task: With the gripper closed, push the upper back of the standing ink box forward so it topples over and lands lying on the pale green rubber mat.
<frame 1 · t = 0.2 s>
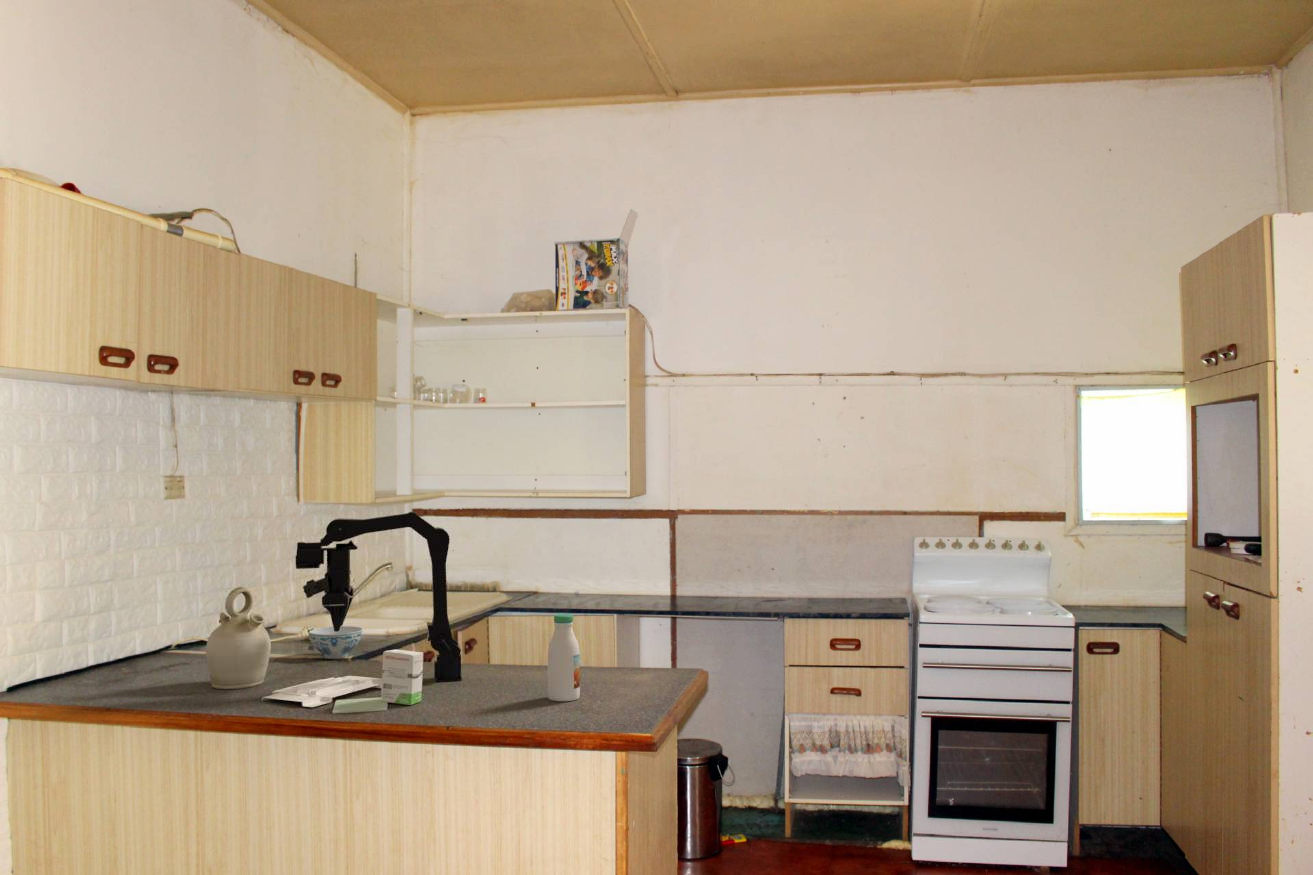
hand: (338, 628, 253), 14 cm above the countertop, tool pointing down, fingers open, 9 cm apart
tray: (326, 692, 245), on the countertop, touching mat
ink box: (400, 702, 234), on the countertop, touching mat
jug: (238, 685, 255), on the countertop
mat: (361, 705, 231), on the countertop
chinaware: (335, 656, 293), on the countertop
milk bottle: (563, 699, 237), on the countertop
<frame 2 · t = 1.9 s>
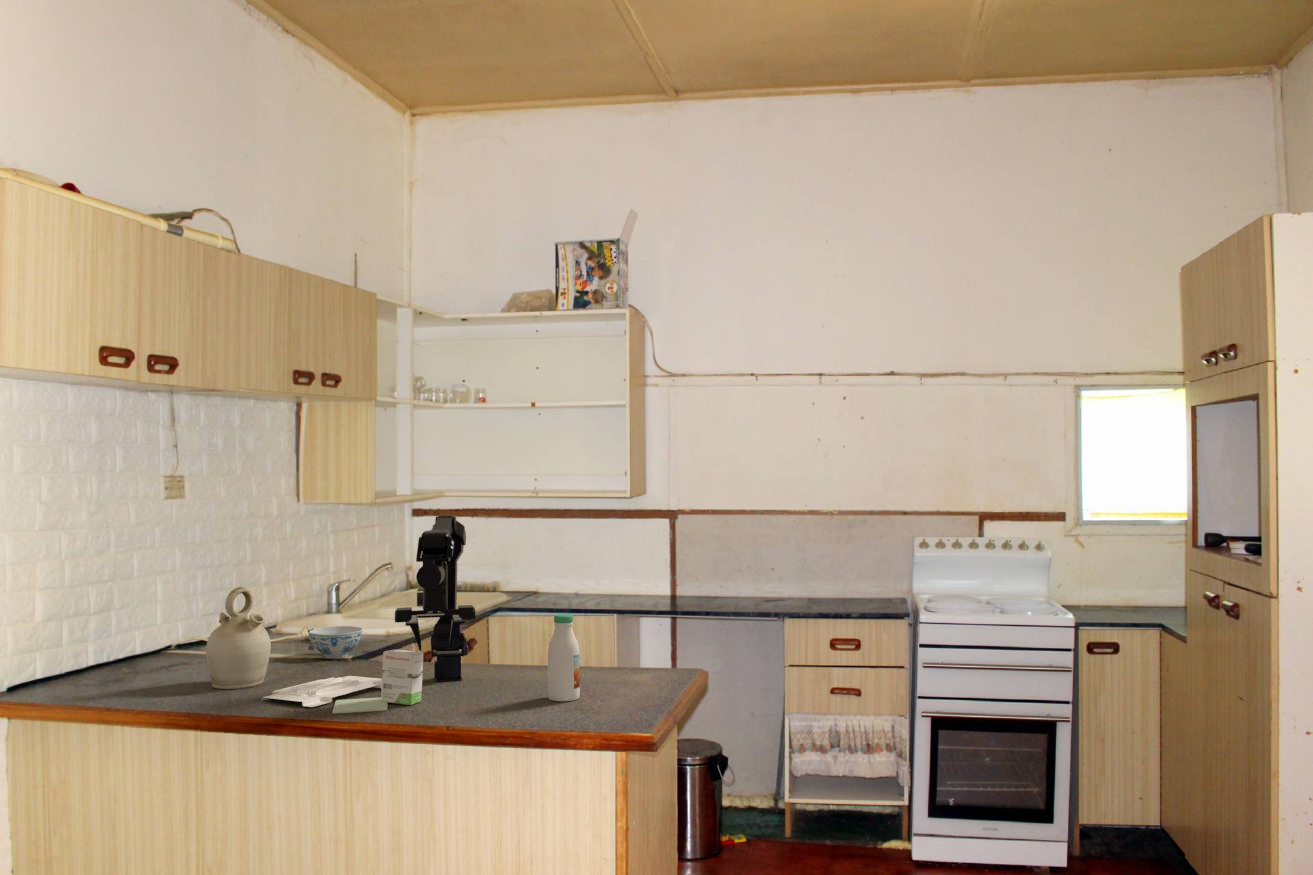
hand: (435, 649, 236), 12 cm above the countertop, tool pointing down, fingers open, 7 cm apart
nothing on the countertop moved.
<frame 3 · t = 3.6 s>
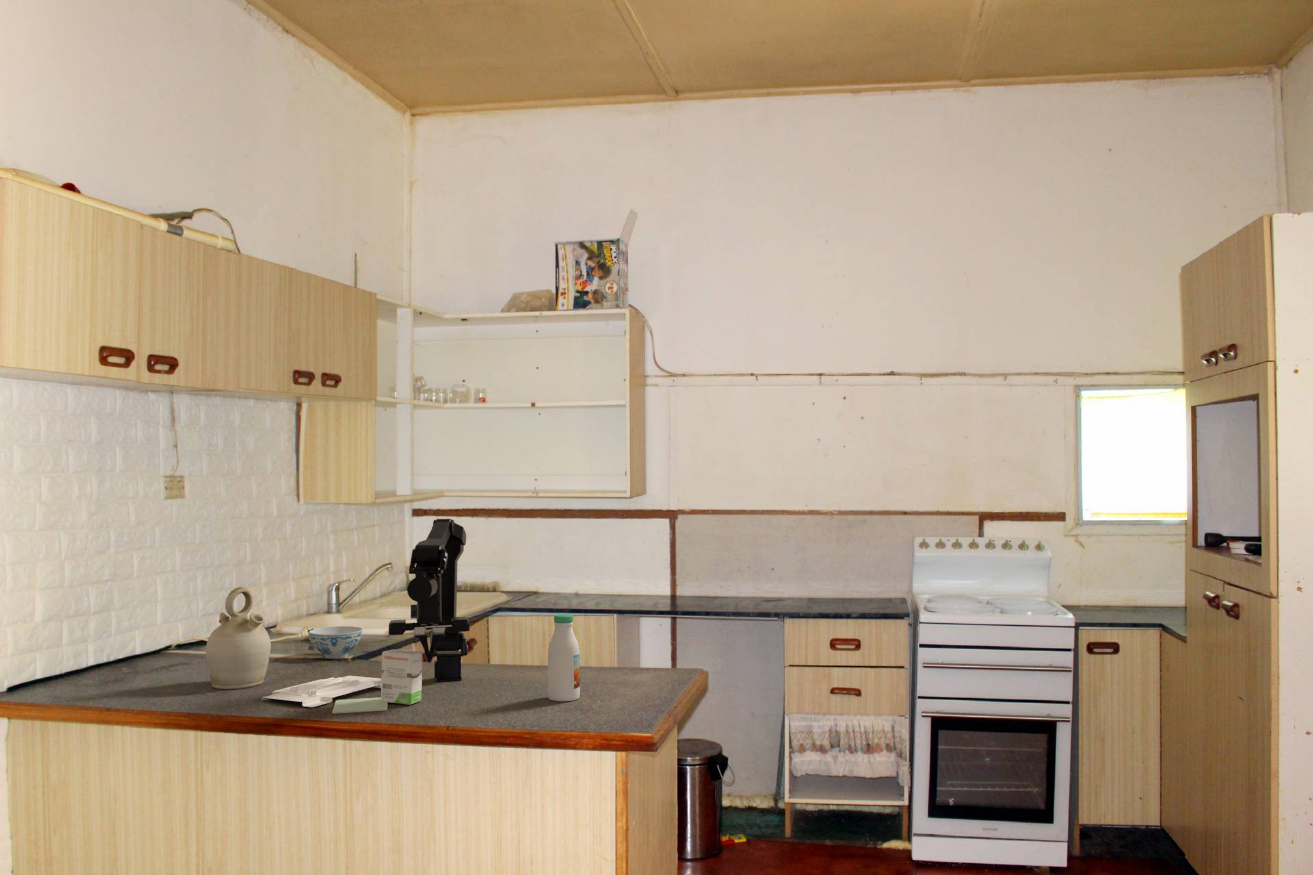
hand: (429, 662, 236), 9 cm above the countertop, tool pointing down, fingers closed
ink box: (400, 702, 234), on the countertop, touching gripper, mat
everything else where it was.
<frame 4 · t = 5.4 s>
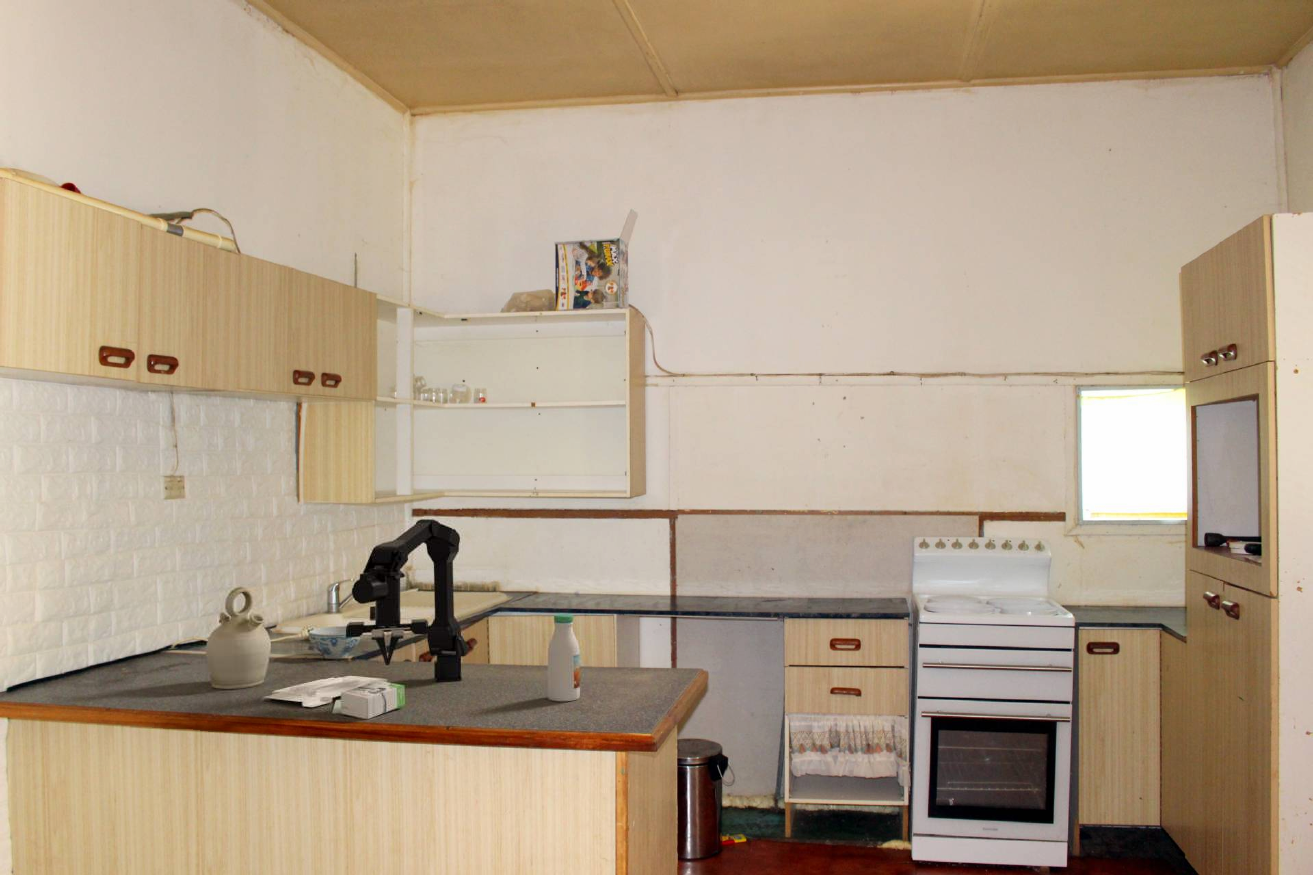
hand: (387, 664, 233), 9 cm above the countertop, tool pointing down, fingers closed
ink box: (392, 692, 231), point 3 cm above the countertop, touching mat
everything else where it was.
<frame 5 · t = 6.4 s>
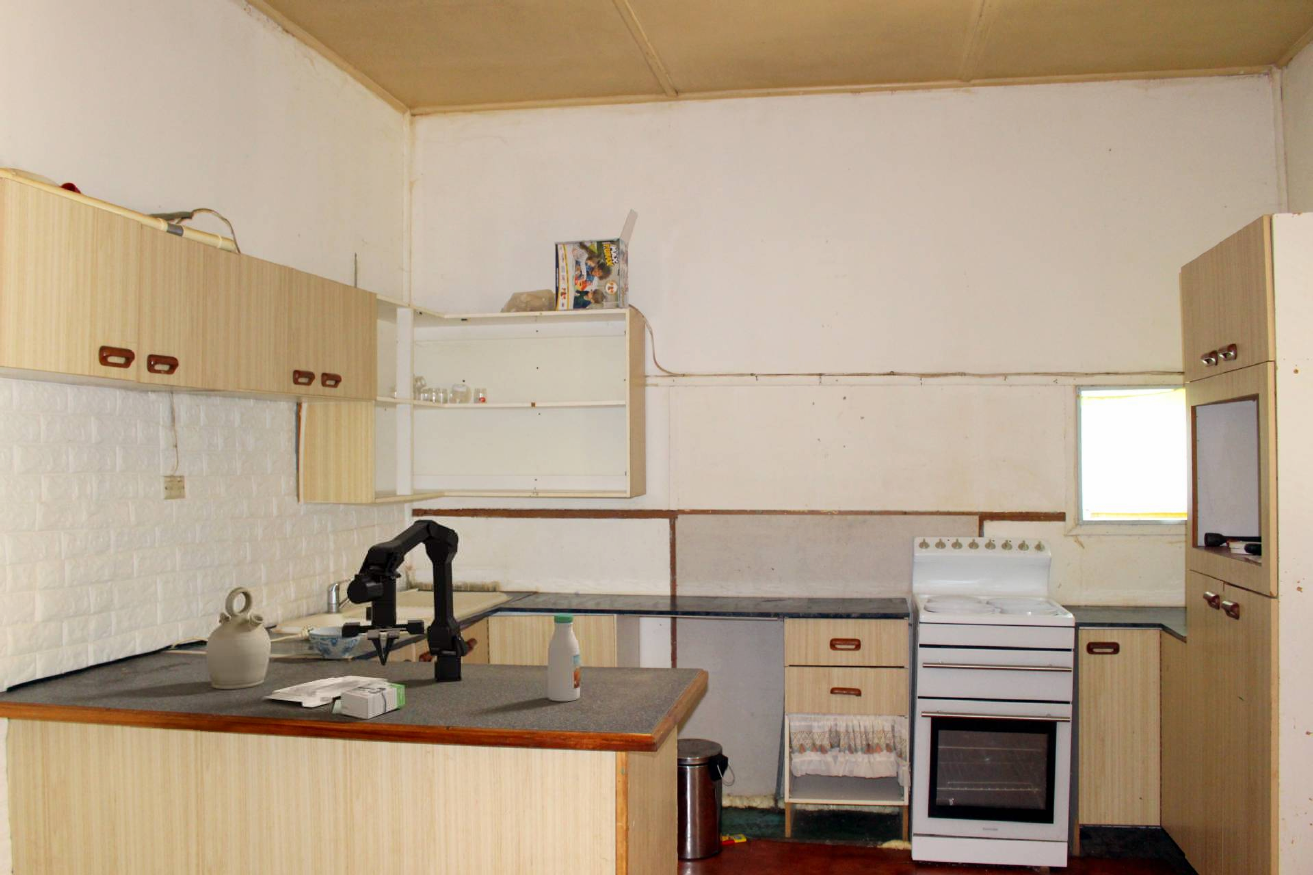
hand: (383, 665, 233), 9 cm above the countertop, tool pointing down, fingers closed
nothing on the countertop moved.
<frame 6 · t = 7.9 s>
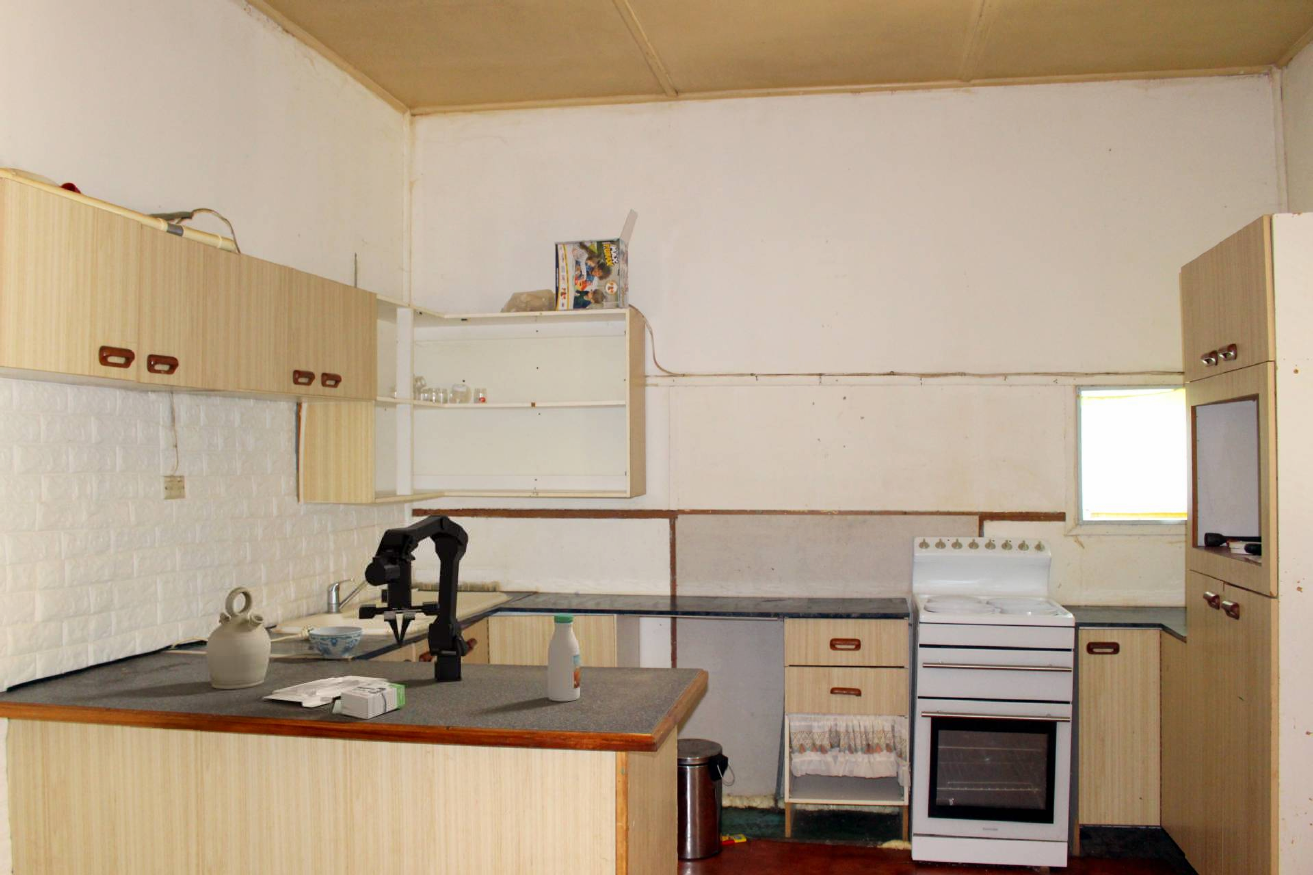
hand: (399, 645, 238), 13 cm above the countertop, tool pointing down, fingers closed
nothing on the countertop moved.
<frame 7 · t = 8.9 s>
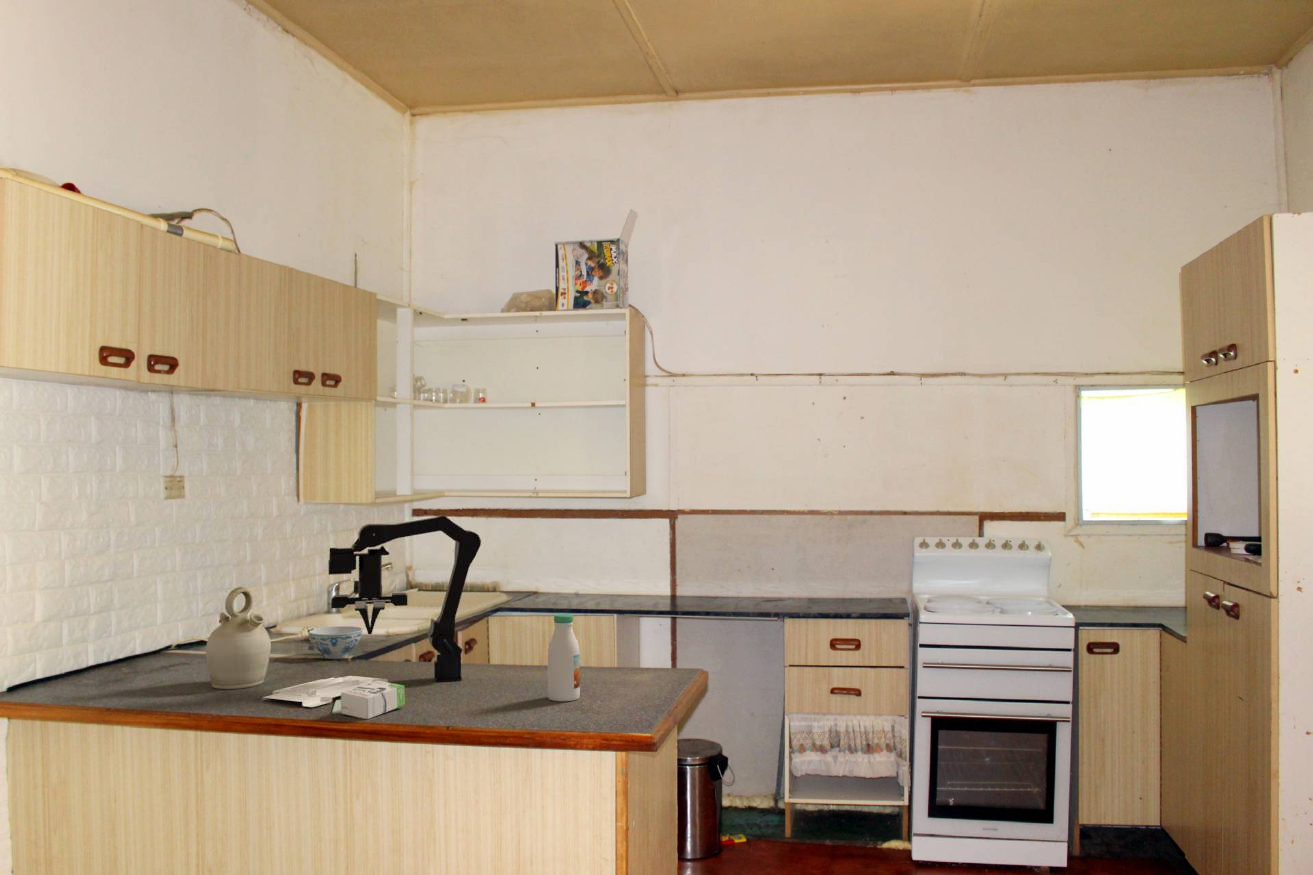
hand: (369, 633, 254), 13 cm above the countertop, tool pointing down, fingers closed
nothing on the countertop moved.
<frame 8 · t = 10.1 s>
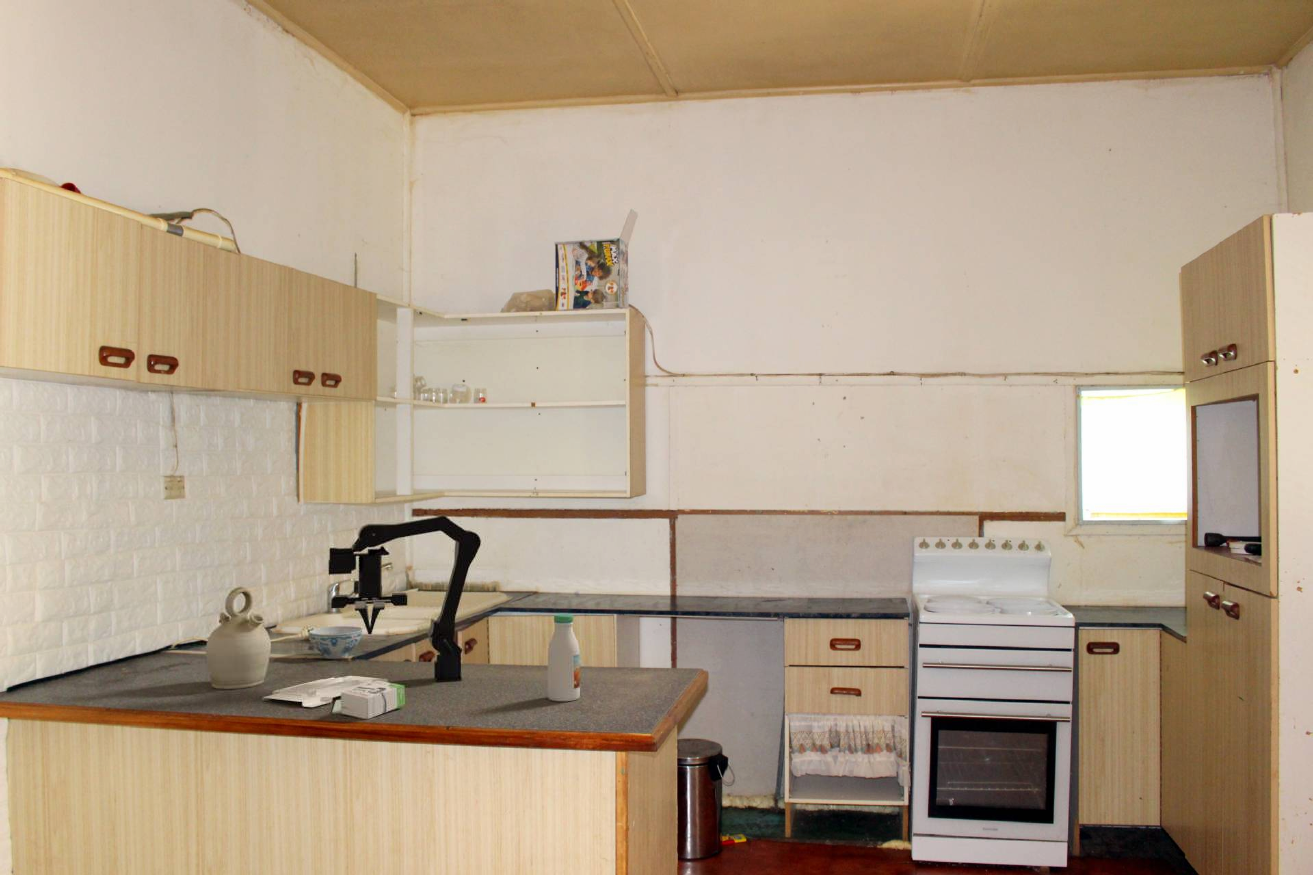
hand: (369, 633, 254), 13 cm above the countertop, tool pointing down, fingers closed
nothing on the countertop moved.
at the end: ink box tilted 93°; ink box inside the target area (7.4 cm from its centre), point 3.1 cm above the countertop; the gripper is holding nothing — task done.
